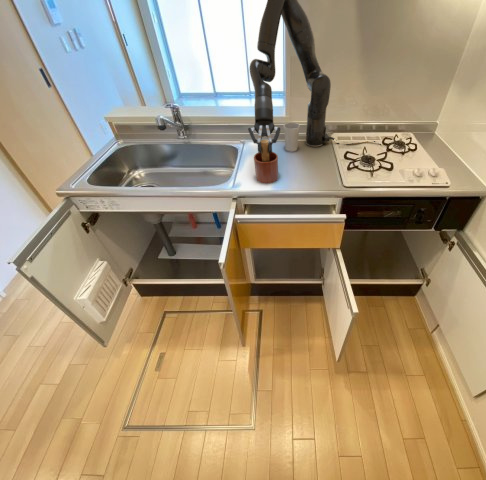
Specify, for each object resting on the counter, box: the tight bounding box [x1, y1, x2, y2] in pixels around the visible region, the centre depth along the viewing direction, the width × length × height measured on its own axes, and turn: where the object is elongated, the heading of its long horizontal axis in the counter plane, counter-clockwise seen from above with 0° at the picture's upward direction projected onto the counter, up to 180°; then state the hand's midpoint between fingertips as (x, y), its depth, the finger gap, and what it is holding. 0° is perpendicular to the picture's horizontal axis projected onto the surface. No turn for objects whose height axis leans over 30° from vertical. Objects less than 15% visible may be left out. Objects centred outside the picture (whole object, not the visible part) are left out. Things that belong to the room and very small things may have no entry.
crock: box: [253, 151, 280, 184], centre depth 117 cm, size 10×10×10 cm
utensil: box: [261, 139, 270, 162], centre depth 112 cm, size 3×3×12 cm
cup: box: [283, 121, 301, 153], centre depth 134 cm, size 8×8×12 cm
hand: (265, 152), depth 110 cm, fingers closed on utensil, 3 cm apart
